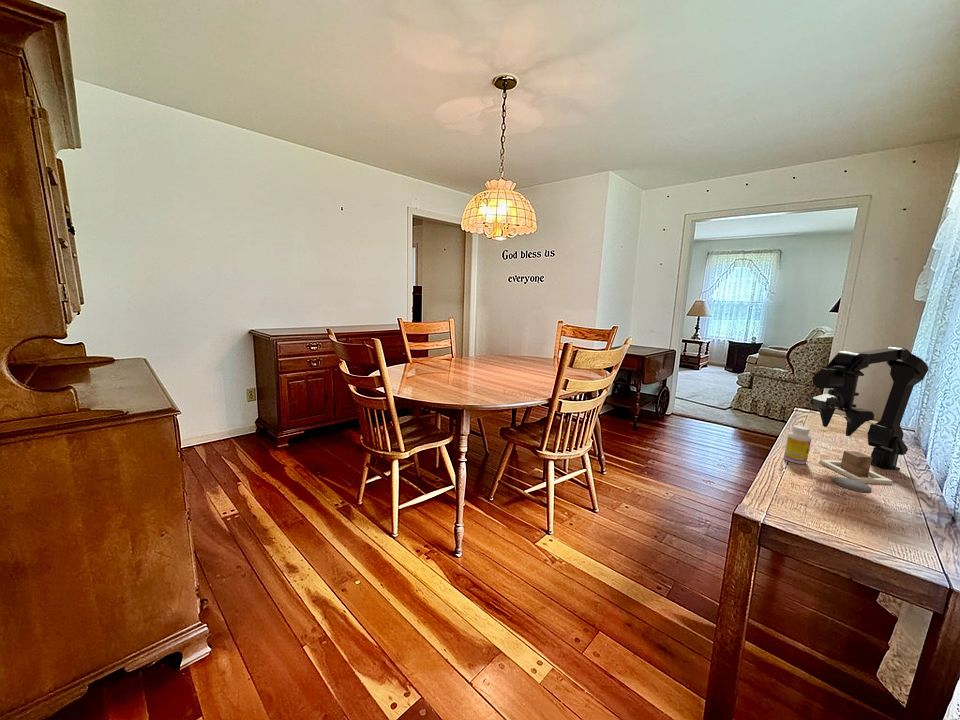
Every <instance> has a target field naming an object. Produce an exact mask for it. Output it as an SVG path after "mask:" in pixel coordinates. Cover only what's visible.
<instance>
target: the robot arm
mask: <svg viewBox="0 0 960 720" xmlns="http://www.w3.org/2000/svg"><path fill="white" fill-rule="evenodd" d="M885 362H886V364H887V365H888V367H889V368H890V371H889V375H890V377H891V380H892V386H891V388H890V391H889V394H888V396H887V397H888V398H887V399H886V403H885V406H884V408H883V412H882V414H881V417H880V420H878V421H877V422H875V423H870V424H869V429H868V431H867V432H866V434H867V445H868V446H871V447H873V449H872V451H871V454H870V457H872V461H871V465H874V466H876V467H878V468H880V469H883V470H896V471H897V470H901V468H900V467H898V466H897V463H898V458H899V456H904V455H906V454H907V452H908V451H909V448H908V447H907V445H906V444H905V441H903V440H904V431H903V429H902V426H901V423H902V420H903V417H904V414H905V412H906V409H907V407H908V404H909V400H910V398H911V394H912V391H913V389H914V387H915V386H916V385H917V384H918V383H920V382H922V381H924V379H925V376H926V375H927V373H928V371H929V366H928V364H927V363H926V362H925V361H924V360H923V359H922V358H920V357H919V356H917V355H915V354H913V353H912V352H911V351H910V350H908V349H907V348H905V347H897V346H896V347H895V346H889V347H884V348H879V349H872V350H866V351H851V350H850V351H848V350H841V351H838V352H837V354H835V356H834V357H833V358H832V359H831V360H830V362H828V364H827V365H826V367H824V368H823V367H822V368H820V370H819V371H818V372H816V373H815V374H814V375H813V376H812V381H811V382H812V383H813V385H814V386H815V387H816V388H818V389H828V391H827V393H824V394H821V395H820V394H819V395H817V396H813V397H812V398H811V399H810V400H811V401H810V405H813V407H814V408H815V409H816V410H817V411H818V412H819V415H820V418H821V422H822V426H823V427H824V428H827V427H828V426H829V424H830V422H831V420H832V418H833V416H834V413H835V411H836V410H838V411H841V412H844V414H845V415H846V416H844V419H845V420H846V429H845V436H846V437H851V436H852V435H853V434H854V433H855V432H856V431H857V430H858V429H859V428H860V427H861V426H862V425H863V424H865V423H866V422H870V421H874V420H875V419H874V418H875V413H874V412H873V411H872V410H868V409H865V408H861V407H860V408H858V407H857V404H856V403H854V401H855V397H859V394H860V392H857V386H858V382H859V377H864V376H865V374H864V373H863V372H862V370H864V369H867V368H868V367H869V365H872V364H873V365H874V364H879V363H885Z"/></svg>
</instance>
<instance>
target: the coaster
mask: <svg viewBox="0 0 960 720" xmlns="http://www.w3.org/2000/svg"><path fill="white" fill-rule="evenodd" d="M832 482H833V484H836V485H837V486H840V487H842V488H844V489H847V490H850V491H854V492H860V493H871V492H872V487H871V486H870V485H867V483H862V482H859V481H856V480H853V479H850V478H848V477H843V476H835V477H834V476H833V478H832Z"/></svg>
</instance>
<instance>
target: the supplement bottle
mask: <svg viewBox="0 0 960 720" xmlns="http://www.w3.org/2000/svg"><path fill="white" fill-rule="evenodd" d="M810 431H811V430H810V428H808V427H807V426H802V425H798V424H797V425H793V426H792V431H790V432H788V434H787V438H786V444H785V448H784V452H783V453H784V454H783V458H784V459H785V460H786V461H788V462H790V463H794V464H797V465H805V464H806V463H808V459H809V453H810V447H811V443H812V437H811V436H810V435H809V433H810Z"/></svg>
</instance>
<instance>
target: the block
mask: <svg viewBox="0 0 960 720" xmlns="http://www.w3.org/2000/svg"><path fill="white" fill-rule="evenodd" d="M840 461H841V465H839V467H840V468H842V469H844V470H846V471H848V472H850V473H852V474H854V475H856V476H858V477H866V478H869V475H868V474H869V470H870V471H871V469H870V468H871V466H872V464H871V461H872V457H871V455H868V454H865V453H863V452H860V451H854V450H851V451H850V450H843V452H842V459H841V460H840Z"/></svg>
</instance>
